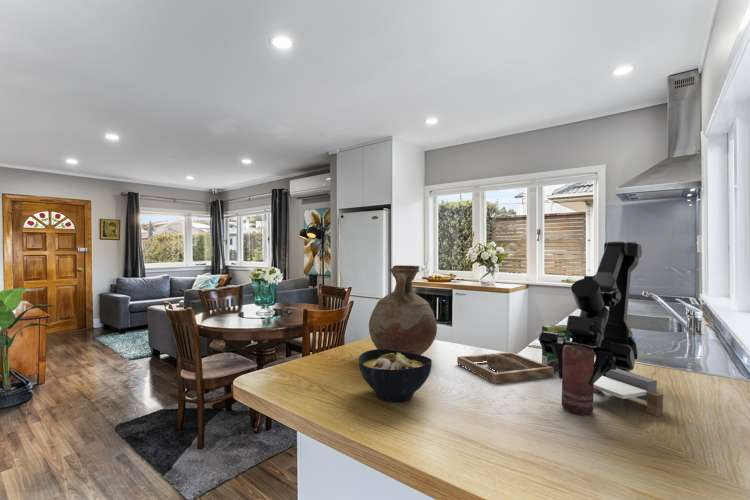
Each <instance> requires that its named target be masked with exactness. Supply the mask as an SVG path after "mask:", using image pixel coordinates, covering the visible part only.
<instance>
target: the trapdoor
mask: <svg viewBox="0 0 750 500" xmlns="http://www.w3.org/2000/svg"><path fill="white" fill-rule="evenodd" d="M657 384H658V380H657V379H653V378H651V377H650V378H649V377H646V376H643V375H640V374H638V373H633V372H627V371H624V370H621V369H617V368H616V370H610V371H608V372H607V373H606V377H605V376H601V377H600V378H599V379H598V380H597V381H596V382H595V383H594V388H595V389H598V390H600V391H602V393H603V392H604V393H606V394H609V395H612V396H614V397H617V398H620V399H622V400H625V399H631V398H632V399H633V398H637V399H640V400H643V401H644V402H647V392H656V393H658V391H657V389H658V388H657V386H658V385H657Z"/></svg>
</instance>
